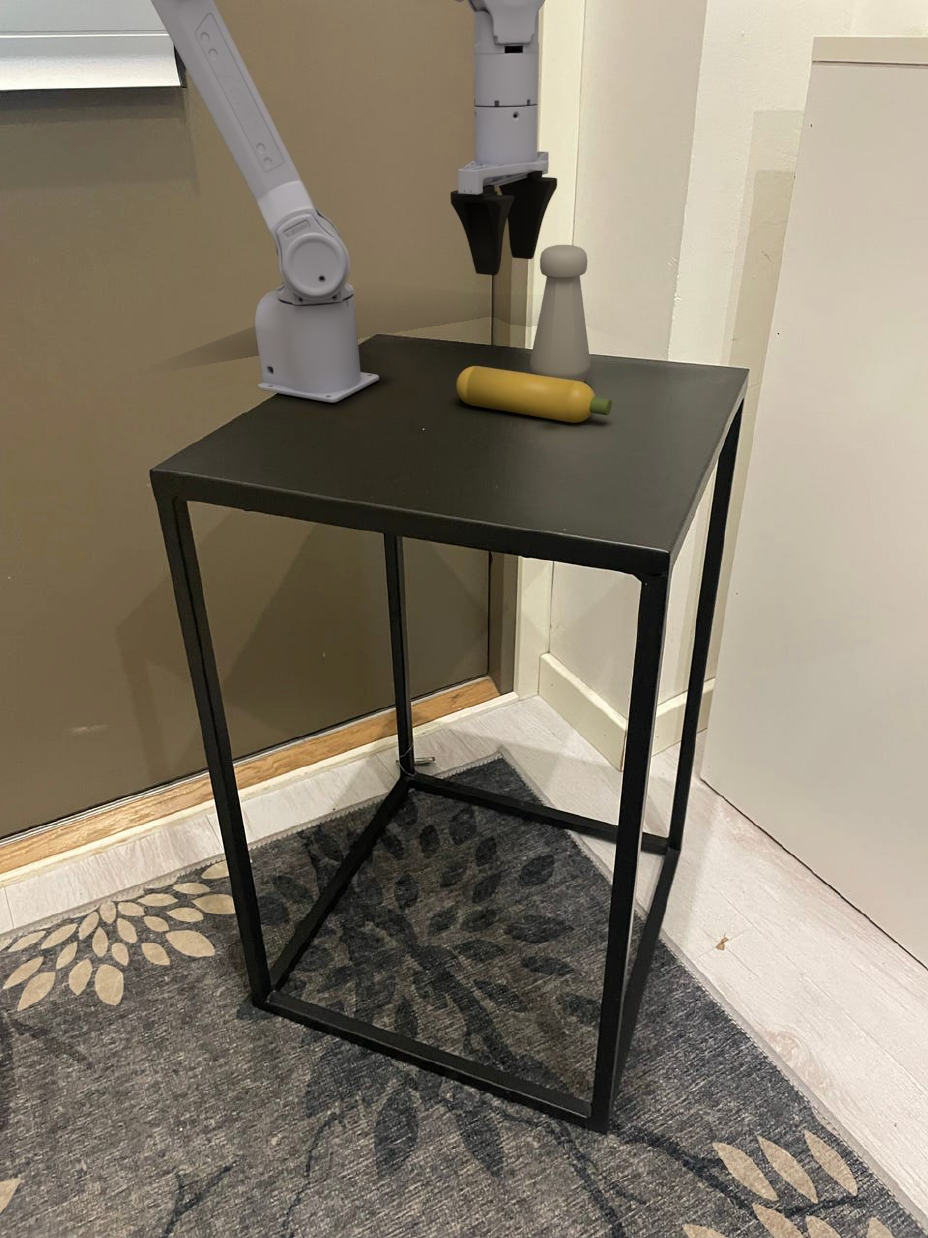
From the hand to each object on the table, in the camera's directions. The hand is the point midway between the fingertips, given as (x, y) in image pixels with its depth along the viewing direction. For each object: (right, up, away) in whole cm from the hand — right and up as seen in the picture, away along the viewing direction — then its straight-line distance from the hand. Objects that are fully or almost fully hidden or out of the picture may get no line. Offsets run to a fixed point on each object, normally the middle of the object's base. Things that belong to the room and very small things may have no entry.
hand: (505, 265), depth 89 cm
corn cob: (+1, -15, -5) cm, 16 cm away
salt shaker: (+5, -12, +1) cm, 13 cm away
